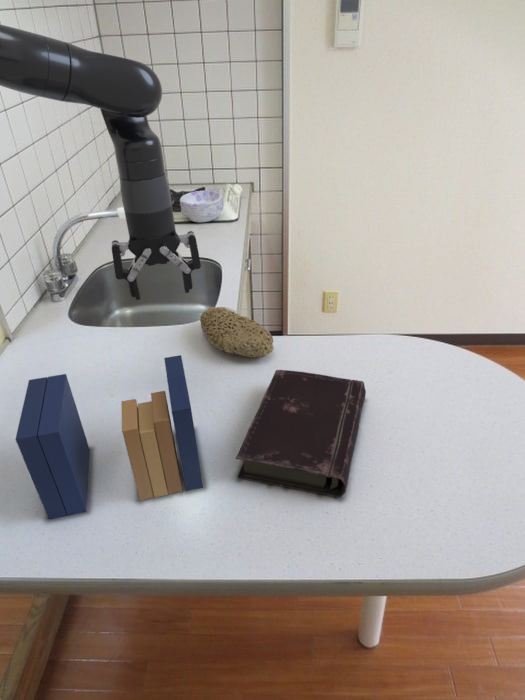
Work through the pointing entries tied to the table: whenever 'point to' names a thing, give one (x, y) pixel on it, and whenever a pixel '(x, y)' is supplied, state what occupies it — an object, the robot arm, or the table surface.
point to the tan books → (151, 446)
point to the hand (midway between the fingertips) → (162, 294)
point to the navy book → (183, 422)
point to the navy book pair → (54, 446)
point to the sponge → (235, 333)
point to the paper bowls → (202, 205)
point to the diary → (304, 433)
